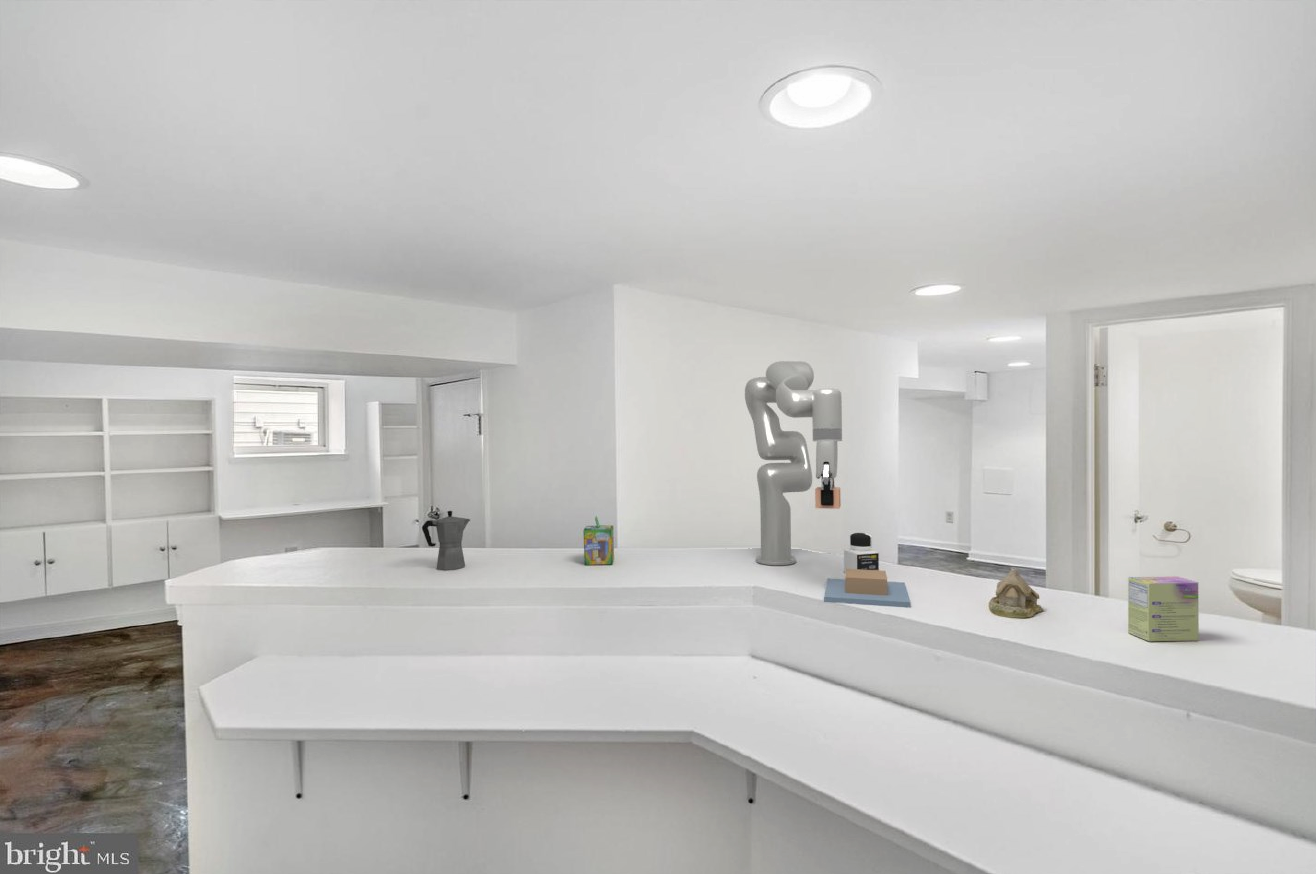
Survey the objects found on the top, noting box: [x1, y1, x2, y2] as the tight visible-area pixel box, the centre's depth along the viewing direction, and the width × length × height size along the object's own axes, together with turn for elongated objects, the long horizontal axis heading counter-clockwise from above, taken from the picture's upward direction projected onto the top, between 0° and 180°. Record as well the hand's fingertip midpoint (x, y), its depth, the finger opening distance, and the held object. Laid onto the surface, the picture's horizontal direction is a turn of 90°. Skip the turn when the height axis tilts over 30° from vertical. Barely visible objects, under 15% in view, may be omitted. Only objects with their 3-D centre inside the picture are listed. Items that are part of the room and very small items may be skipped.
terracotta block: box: [814, 486, 842, 510], centre depth 171 cm, size 6×6×5 cm
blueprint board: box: [823, 569, 911, 608], centre depth 167 cm, size 20×20×5 cm
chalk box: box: [582, 515, 615, 566], centre depth 210 cm, size 9×9×15 cm
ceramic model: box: [988, 567, 1044, 619], centre depth 152 cm, size 14×11×10 cm
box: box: [1127, 576, 1200, 642], centre depth 132 cm, size 10×6×12 cm, turn 92°
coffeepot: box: [421, 510, 471, 571], centre depth 205 cm, size 15×9×18 cm, turn 129°
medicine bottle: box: [843, 532, 880, 574], centre depth 189 cm, size 7×7×12 cm
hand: (828, 503), depth 171 cm, fingers closed on terracotta block, 6 cm apart
